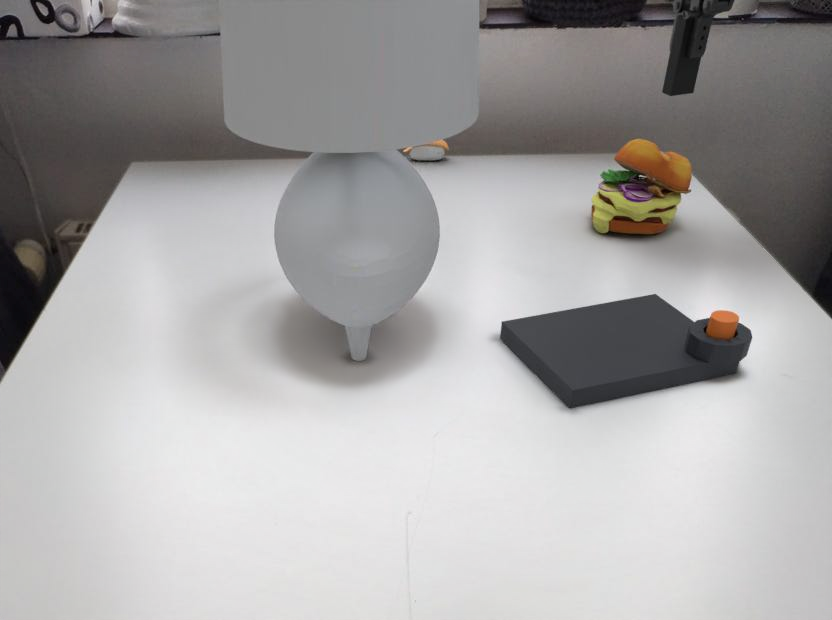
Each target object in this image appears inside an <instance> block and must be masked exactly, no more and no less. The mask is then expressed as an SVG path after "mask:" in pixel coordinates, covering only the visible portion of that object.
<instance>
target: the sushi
mask: <svg viewBox="0 0 832 620" xmlns="http://www.w3.org/2000/svg"><path fill="white" fill-rule="evenodd" d="M449 150H450V148H449V145H448V143H447V142H446V141H445V139H442V140H439V141H436V142H432V143H428V144H424V145H419V146H414V147H408V148H404V150H403V151H402V152H403V153H407V152H409V156H410V159H413V160H416V161H420V162H421V161H438V160H441V159H443V158H444V157H445V154H446V153H445V152H446V151H447V152H449Z"/></svg>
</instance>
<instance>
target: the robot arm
mask: <svg viewBox="0 0 832 620" xmlns="http://www.w3.org/2000/svg"><path fill="white" fill-rule="evenodd" d="M664 1H665V3H668V2H669V3H670V4H671V5H672V10H673V13H674V14H675V15H674V20H673V25H672V31H671V35H670V40H669V56H668V62H667V65H666V71H665V75H664V81H663V85H662V90H661V93H662V94H665V95H666V96H669V97H674V96H681V95H683V96H684V95H689V94H694V92H695V87H696V84H697V83H696V82H697V79H698V74H699V71H700V70H699V69H700V65H701V60H702V57H704V55H705V52H706V49H707V44H708V40H709V36H710V31H711V27H712V23H713V20H714V18H715V16H716V15H719V14H722V13H725V12H726V13H727V12H730V11H731V10H732V9H733V6H734V3H735V1H736V0H664Z"/></svg>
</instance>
